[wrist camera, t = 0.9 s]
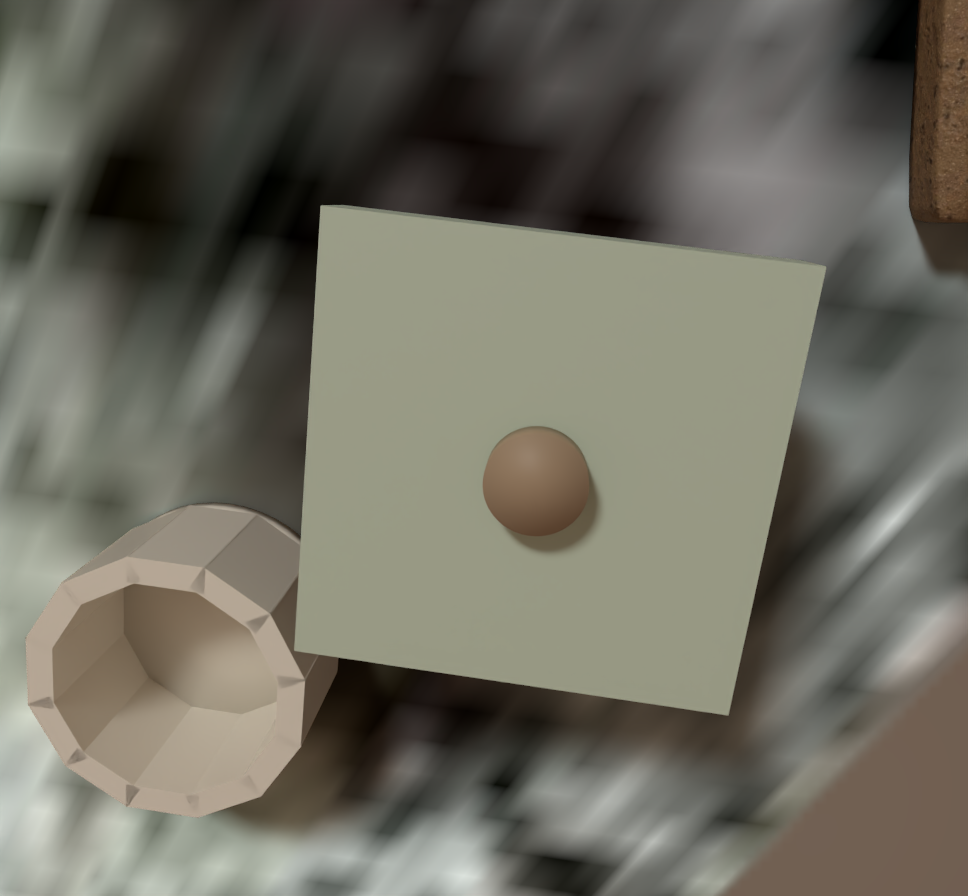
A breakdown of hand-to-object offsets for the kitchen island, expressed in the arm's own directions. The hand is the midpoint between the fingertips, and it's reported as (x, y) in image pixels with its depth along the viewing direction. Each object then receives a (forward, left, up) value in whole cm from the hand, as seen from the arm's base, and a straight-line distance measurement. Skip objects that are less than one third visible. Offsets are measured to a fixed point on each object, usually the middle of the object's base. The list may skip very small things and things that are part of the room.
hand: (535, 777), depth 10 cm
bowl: (+9, -10, -19) cm, 23 cm away
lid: (0, 0, -13) cm, 13 cm away
